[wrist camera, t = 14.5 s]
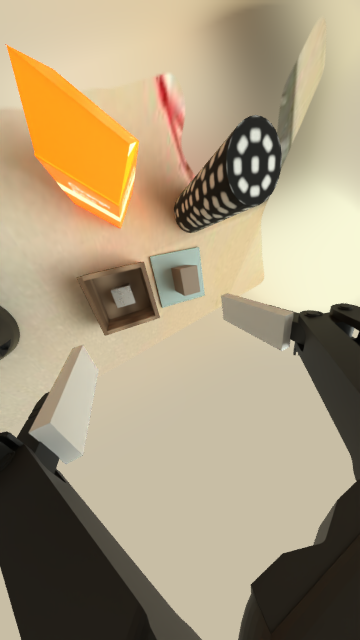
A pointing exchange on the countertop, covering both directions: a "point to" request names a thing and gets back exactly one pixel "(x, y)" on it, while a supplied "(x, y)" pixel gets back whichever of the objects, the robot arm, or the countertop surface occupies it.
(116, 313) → the storage box
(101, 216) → the orange juice
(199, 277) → the lid
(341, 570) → the robot arm
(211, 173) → the white-spotted black cylinder
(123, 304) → the metal cube
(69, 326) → the countertop surface
